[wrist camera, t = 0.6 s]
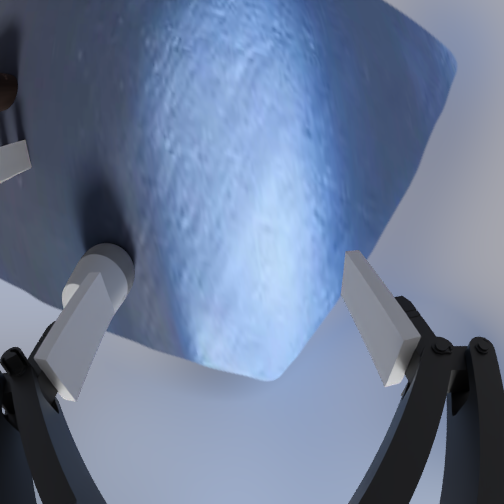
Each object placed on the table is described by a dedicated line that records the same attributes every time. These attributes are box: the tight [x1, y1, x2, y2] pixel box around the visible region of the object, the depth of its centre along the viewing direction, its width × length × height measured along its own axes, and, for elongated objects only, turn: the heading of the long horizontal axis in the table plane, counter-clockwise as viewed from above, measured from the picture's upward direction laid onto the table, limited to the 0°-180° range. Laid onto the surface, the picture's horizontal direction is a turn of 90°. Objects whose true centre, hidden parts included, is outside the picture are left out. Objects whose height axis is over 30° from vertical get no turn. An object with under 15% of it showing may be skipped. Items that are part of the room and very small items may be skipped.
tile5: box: [0, 140, 32, 182], centre depth 30 cm, size 5×2×9 cm, turn 9°
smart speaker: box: [62, 243, 135, 316], centre depth 37 cm, size 10×9×14 cm
